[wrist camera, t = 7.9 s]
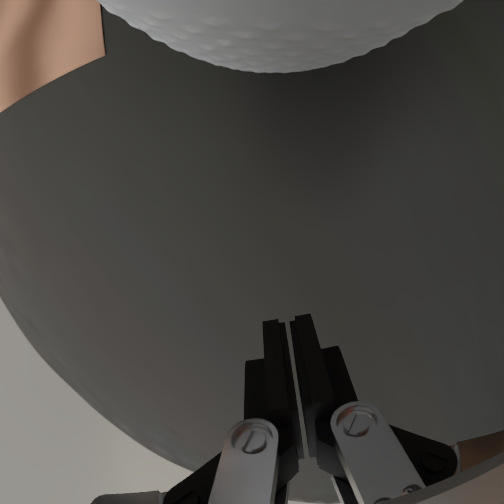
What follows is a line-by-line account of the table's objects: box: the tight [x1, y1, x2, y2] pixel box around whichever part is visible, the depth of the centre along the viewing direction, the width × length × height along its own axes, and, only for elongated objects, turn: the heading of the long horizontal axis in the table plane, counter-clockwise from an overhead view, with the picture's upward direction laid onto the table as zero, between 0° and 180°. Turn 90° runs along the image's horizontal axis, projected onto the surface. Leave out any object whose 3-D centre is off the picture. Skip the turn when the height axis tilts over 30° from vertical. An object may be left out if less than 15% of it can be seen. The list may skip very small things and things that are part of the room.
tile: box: [0, 0, 106, 112], centre depth 12 cm, size 10×10×1 cm
